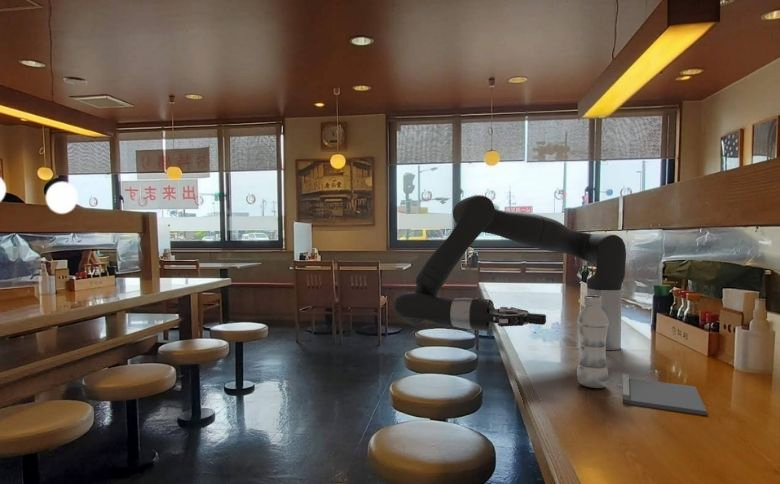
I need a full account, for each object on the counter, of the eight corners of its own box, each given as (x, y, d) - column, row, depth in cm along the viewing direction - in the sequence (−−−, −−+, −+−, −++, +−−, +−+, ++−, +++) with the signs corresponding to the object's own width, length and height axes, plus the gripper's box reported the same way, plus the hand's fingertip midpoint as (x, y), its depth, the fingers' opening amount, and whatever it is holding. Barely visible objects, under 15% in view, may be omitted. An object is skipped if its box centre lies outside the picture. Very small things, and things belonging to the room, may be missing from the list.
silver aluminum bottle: (606, 383, 105) (607, 295, 104) (610, 393, 98) (611, 299, 98) (575, 380, 107) (576, 293, 106) (577, 390, 101) (578, 298, 100)
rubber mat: (622, 381, 106) (622, 373, 106) (695, 390, 100) (695, 382, 100) (622, 403, 93) (622, 394, 93) (706, 415, 87) (706, 405, 87)
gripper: (464, 302, 108) (541, 307, 101) (479, 295, 120) (549, 299, 113) (464, 334, 109) (541, 342, 101) (479, 323, 120) (549, 330, 113)
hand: (545, 319), depth 107 cm, fingers closed
